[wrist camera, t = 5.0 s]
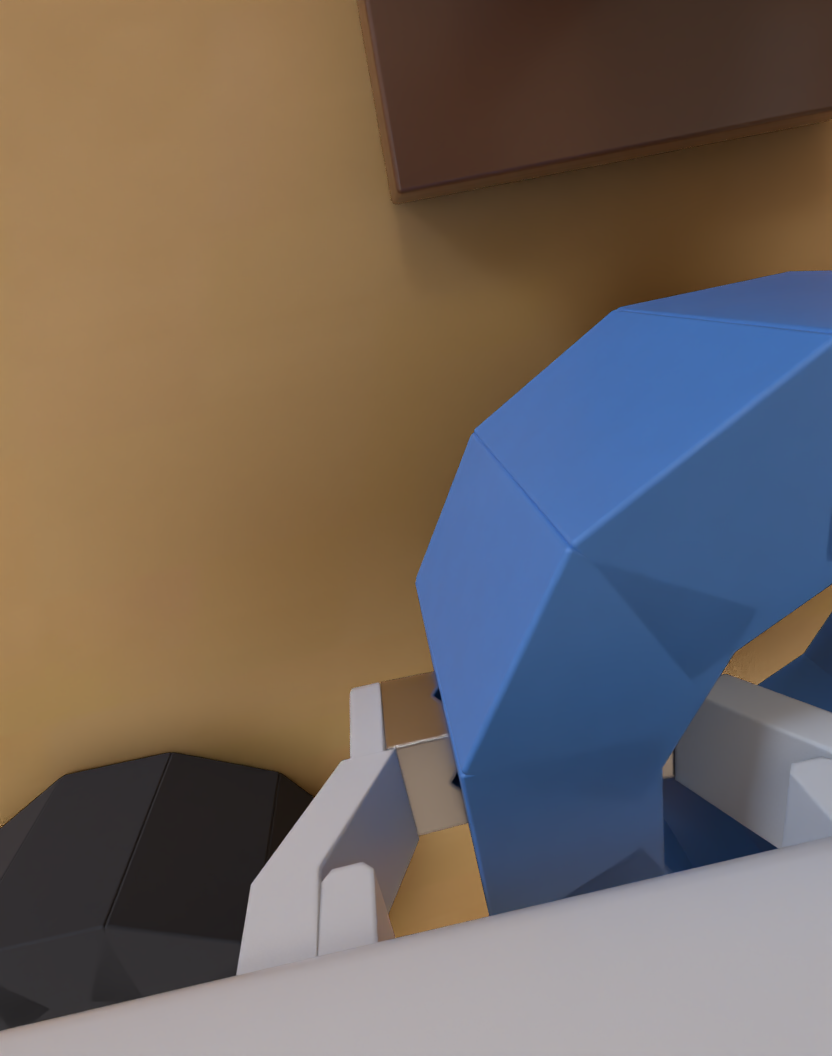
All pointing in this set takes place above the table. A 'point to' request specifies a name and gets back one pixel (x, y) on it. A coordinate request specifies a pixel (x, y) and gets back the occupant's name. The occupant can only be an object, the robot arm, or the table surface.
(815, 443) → the blue tape
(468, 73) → the wooden stand
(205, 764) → the ring
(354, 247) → the table surface
